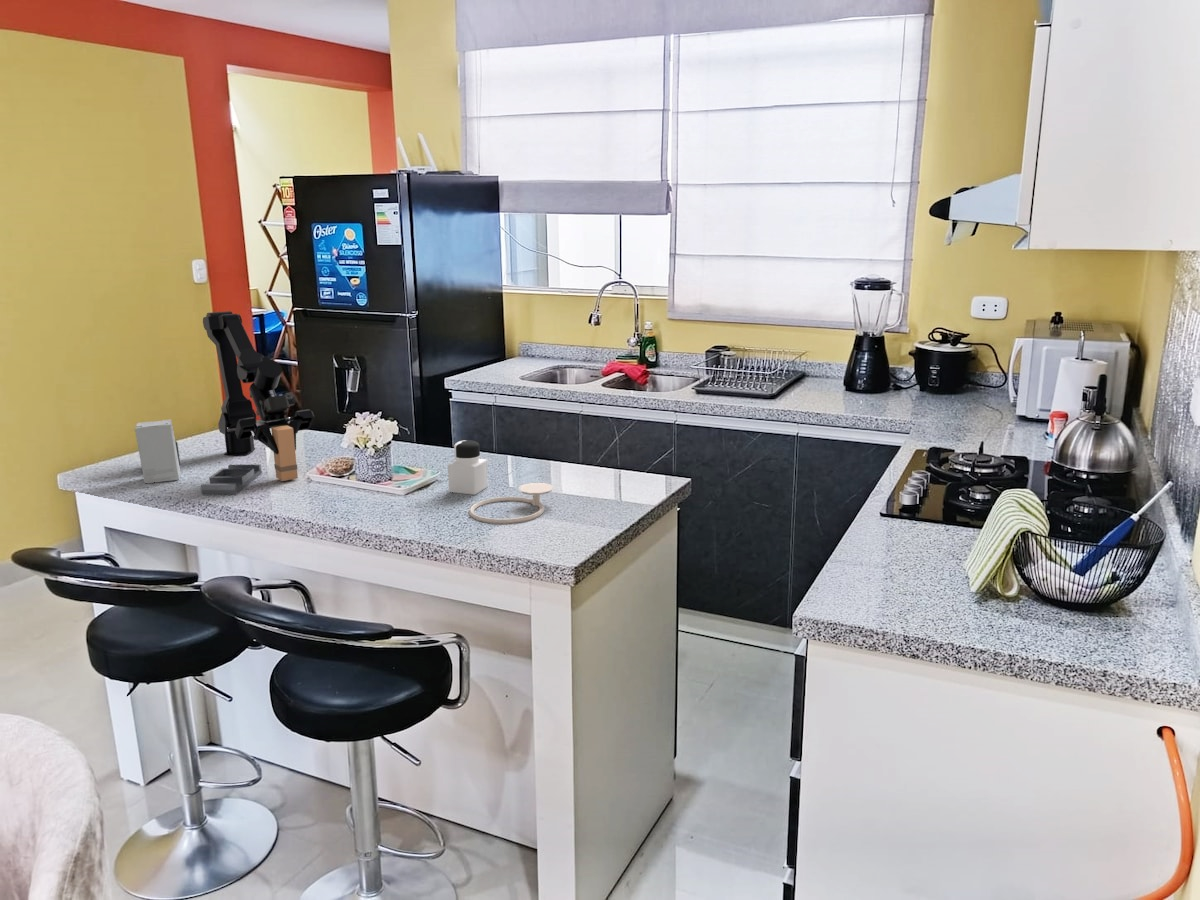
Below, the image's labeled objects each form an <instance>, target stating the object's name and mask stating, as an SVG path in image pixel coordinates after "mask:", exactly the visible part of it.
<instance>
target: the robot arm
mask: <svg viewBox="0 0 1200 900" xmlns="http://www.w3.org/2000/svg"><path fill="white" fill-rule="evenodd" d="M202 325H203V328H204V330H205V331H206V335H207V337H208V338H209V340H210V341H211V342H212V343H213V344H214V345H215V347H216V353H217V359H218V364H219V365H218V366H219V369H220V374H221V381H222V386H223V390H224V395H225V396H224V397H225V398H224V400H223V403H222V405H221V410H220V411H221V414H220V417H219V420H218V424H217V426H218V429H219V433H221V434H223V435H224V441H225V450H226V451H225V452H224V453H223V454H224V456H247V455H249V454H251V453H252V452H253V451H254V450H256V448H255V442H254V441H259V442H260V443H262V444H263V445H265V446H266V447H267V448H268V449H270V450H271V451H272V452H273V454H274V453H276V454H278V453H279V451H278V448H277V445H276V443H275V441H274V439H273V437H272V431H271V428H272V427H279V426H286V425H288V426H290V427H292V428H293V432H294V443H295V452H296V450H297V434H298V433H299V432H300V431H306V430H309V429H310V428H311V427H312V425H313V422H314V420H315V415H314V412H313V411H312V410H311V409H309V408H308V409H301V410H296V411H295V413H294V416H291V417H290V416H289V417H286V416H287V415H288V412H289V411H288V409H290V408H291V407H293V406H294V405H295V404H296V402H297V401H296V398H295V394H294V392H293V391H291V392H289V391H288V392H285V393H284V394H282V395H277V393H276V391H275V389H276V388H277V387H278V385H279V382H280V380H281V379H280V378H281V376H282V373H283V368H282V367H283V366H282V365H281V364H280V363H278V362H277V361H275V360H273V359H271V357H269V356H264V355H263V354H261V353H259V352H258V351H256V350H255V347H254V346H253V343H252V342H251V339H250V337H249V335H248V334H247V333H248V332H247V331H246V330H245V328H244V326H243V319H242V316H241V315H240V314H238V313H233V312H232V311H230V310H228V311H216V312H215V311H214V312H207V313H206V315H205V316H203V318H202ZM242 384H250V386H249V389H248V390H249V391H248V392H249V397H250V398H252V400H253V403H252V400H251V399H248V398H247V397H246V396H245V395H244V391H243V386H242ZM253 404H254V406H255V409H256V411H255V410H254V409H253ZM257 416H259V420H258V419H257ZM253 434H254V435H253Z"/></svg>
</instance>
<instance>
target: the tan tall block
mask: <svg viewBox="0 0 1200 900" xmlns="http://www.w3.org/2000/svg"><path fill="white" fill-rule="evenodd" d="M270 431H271V434H272V437H273V439H274V441H275V443H276V445H277V448H278V451H279V453H278V454H276V453H274V452H273V457H274V464H273V465H274V470H275V477H276V479H277V480H279V481H281V482H286V481H291V480H297V479H298V478H299V477H298V464H297V457H296V455H297V454H296V451H295V443H294V432H293V428H292V427H290V426H288V425H286V426H279V427H272V428H270Z"/></svg>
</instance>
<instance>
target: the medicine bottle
mask: <svg viewBox="0 0 1200 900" xmlns="http://www.w3.org/2000/svg"><path fill="white" fill-rule="evenodd" d="M480 446H481V445H480V443H479V442H478V441H475V440H470V439H469V440H464V439H463V440H459V441H457V442H455V444H454V446H453V448H454V449H453V450H454V460H453V461H451V462H450V463H448V464H447V474H448V475H447V476H448V477H447V478H448V491H449V493H452V492H453V493H454V494H462V495H463V494H464V495H471V496H475V495H477V494H479V493H480V492H482V491H483V490H485V489H486V488H488V486H489V483H488V481H489V479H488V478H489V477H488V460H487V459H486V458H481V451H480ZM453 493H452V494H453Z"/></svg>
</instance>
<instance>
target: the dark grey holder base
mask: <svg viewBox="0 0 1200 900" xmlns="http://www.w3.org/2000/svg"><path fill="white" fill-rule="evenodd" d="M261 473H262V465H261V464H228V466H227V468H221V469H219V470H218V471H216V472H214V474H212V475H211V476H209V477H208V478H209V479H208V480H209V481H208V482H209V483H201V485H200V488H201V489H200V490H201V495H202V494H235V495H237V494H238V493H240V492H241V491H242V490H243V489H244V488H246V487H247V486H248V485H249V484H251V483H252V482H253V481H254V480H256V479H257V478H258V477H259V476H260V475H262V474H263V473H262V474H261ZM256 477H257V478H256ZM251 481H252V482H251ZM247 484H248V485H247ZM246 485H247V486H246ZM241 489H242V490H241ZM236 493H237V494H236Z"/></svg>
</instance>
